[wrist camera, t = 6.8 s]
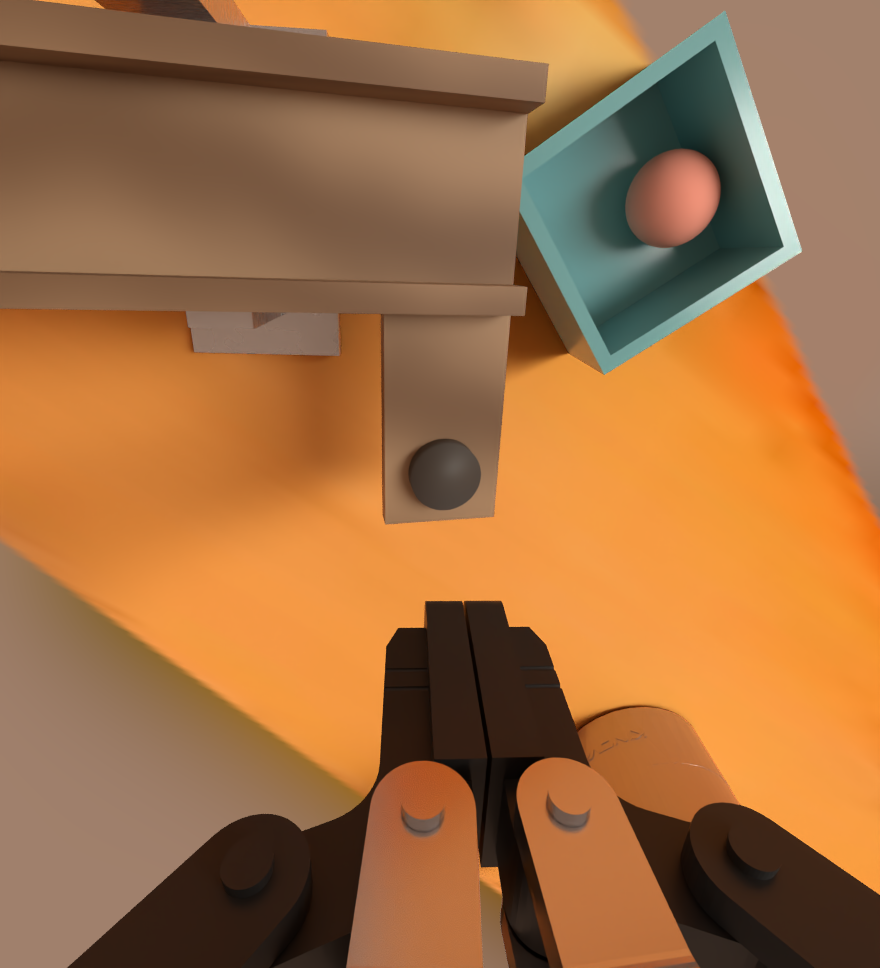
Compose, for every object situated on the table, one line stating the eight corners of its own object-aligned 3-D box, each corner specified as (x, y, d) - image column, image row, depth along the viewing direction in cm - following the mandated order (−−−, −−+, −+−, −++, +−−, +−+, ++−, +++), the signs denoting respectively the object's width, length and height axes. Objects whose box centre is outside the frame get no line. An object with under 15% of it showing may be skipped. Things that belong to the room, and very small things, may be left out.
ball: (605, 251, 21) (681, 262, 21) (642, 227, 18) (731, 239, 18) (618, 165, 20) (696, 176, 21) (659, 123, 17) (749, 138, 18)
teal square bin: (727, 252, 22) (802, 251, 18) (568, 353, 24) (604, 374, 19) (655, 63, 19) (725, 10, 15) (481, 190, 21) (500, 173, 17)
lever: (481, 498, 21) (504, 532, 18) (-83, 533, 17) (-153, 582, 14) (510, 94, 16) (548, 63, 13) (-298, 7, 12) (-466, -62, 9)
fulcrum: (341, 353, 23) (307, 403, 15) (199, 349, 23) (89, 399, 15) (328, 36, 19) (272, -123, 11) (152, 25, 18) (-38, -148, 10)
